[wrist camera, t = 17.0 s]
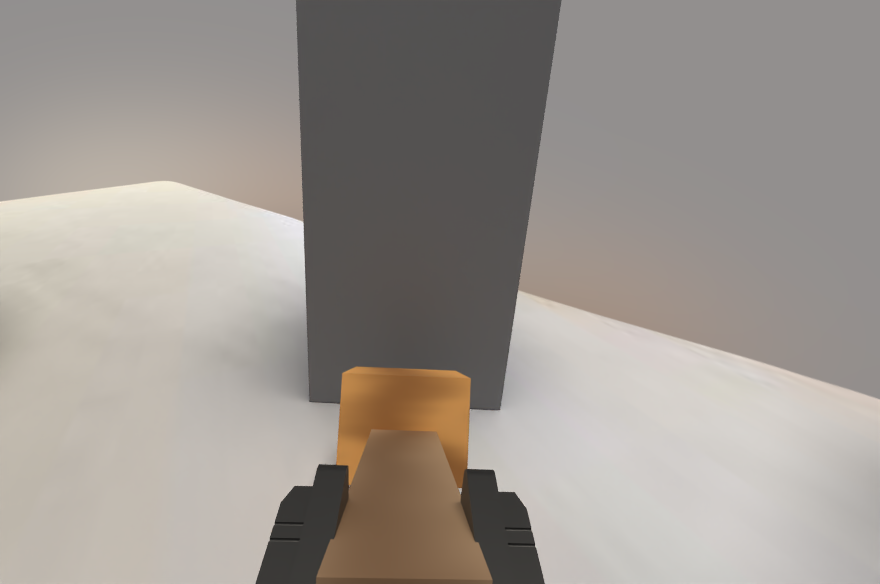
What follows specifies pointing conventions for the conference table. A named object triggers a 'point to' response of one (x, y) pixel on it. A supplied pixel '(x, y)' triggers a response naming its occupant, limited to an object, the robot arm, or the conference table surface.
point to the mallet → (404, 481)
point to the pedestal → (418, 181)
